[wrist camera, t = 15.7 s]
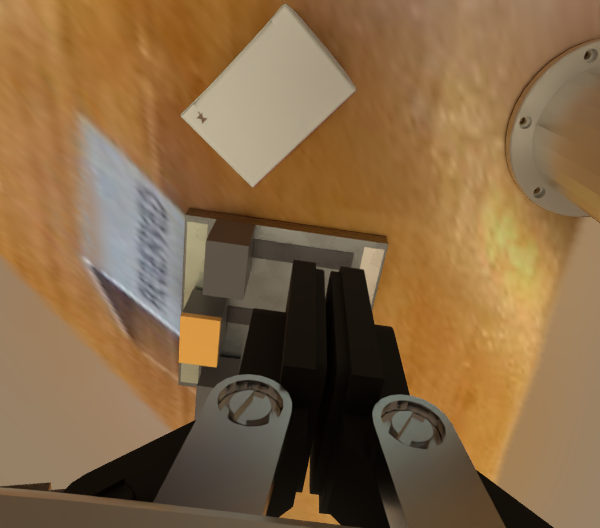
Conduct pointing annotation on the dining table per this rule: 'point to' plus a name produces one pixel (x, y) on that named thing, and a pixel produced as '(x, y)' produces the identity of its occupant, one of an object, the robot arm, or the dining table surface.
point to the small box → (270, 97)
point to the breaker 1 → (228, 259)
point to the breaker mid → (202, 329)
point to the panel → (273, 269)
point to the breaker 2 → (214, 379)
